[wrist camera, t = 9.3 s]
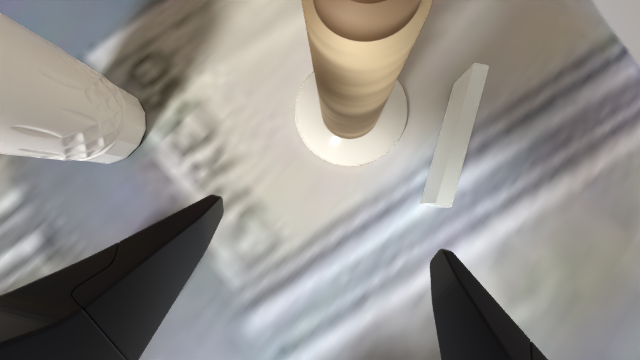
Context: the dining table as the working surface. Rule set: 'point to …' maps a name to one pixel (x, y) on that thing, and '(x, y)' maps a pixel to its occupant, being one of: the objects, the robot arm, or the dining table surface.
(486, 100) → the dining table surface
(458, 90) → the divider wall
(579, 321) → the dining table surface
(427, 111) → the dining table surface
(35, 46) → the white cup
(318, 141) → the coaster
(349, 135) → the pepper mill
